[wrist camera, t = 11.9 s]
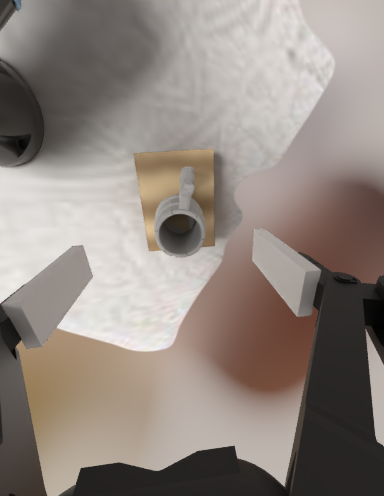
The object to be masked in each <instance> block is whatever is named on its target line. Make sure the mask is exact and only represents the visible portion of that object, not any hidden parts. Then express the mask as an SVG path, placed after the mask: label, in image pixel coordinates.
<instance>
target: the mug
mask: <svg viewBox="0 0 384 496" xmlns="http://www.w3.org/2000/svg"><path fill="white" fill-rule="evenodd" d="M194 189H195V186H194V169H193V167H184V168H182V170H181V173H180V191H179V194H175V195H171V196H169V197H167V198H165V199H164V200H163V201H161V202H160V204H159V206H158V208H157V210H156V215H155V222H154V232H155V238H156V242H157V244H158V246H159V248H160V249H161V250H162V251H163V252H165V253H166V254H168V255H169V256H172V255H173V256H175V257H187V256H191V255H193V254H194V253H196V252H197V251H198V250H199V249H200V248H201V247H202V245H203V242H204V239H205V219H204V217H203V215H202V214H203V212H202V210H201V208H200V206H199V204H198V203H197V202H196V201H195V200H194V199H193V198H191V196H192V195H193V193H194ZM175 214H185V215H188V217H189V224H190V229H189V230H188V231H185V232H184V231H182V230H181V229H179V228H177V227H175V226H174V225H172V224H170V223H168V222H166V221H165V220H166V219H167V218H168V217H170V216H172V215H175ZM194 219H195V220H196V221H195V224H194V225H193V222H194ZM163 222H164V223H165V224H166V225H167V226H168V227H169V228H170V229H171V230H172V231H173V232H172V231H170V230H169V229H168V228H167V227H166V226H165V225H164V224H163ZM192 226H193V227H192Z"/></svg>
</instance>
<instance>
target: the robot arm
mask: <svg viewBox="0 0 384 496" xmlns="http://www.w3.org/2000/svg"><path fill="white" fill-rule="evenodd" d="M20 9H21V0H0V31H1V29H2V28H3V27H4V25H5V24H6V23H7V21H8V20H9V19H10V17H11V16H12V15H13V13H14V12H15V11H16V10H17V11H18V12H19V10H20ZM43 133H44V127H43V119H42V114H41V111H40V108H39V105H38V103H37V101H36V99H35V97H34V95H33V93H32V91H31V90H30V88H29V87H28V86H27V84H26V83H25V82H24V81H23V79H22V78H21V77H20V76H19V75H18V74H17V73H16V72H15V71H14V70H13V69H11V68H10V67H9V66H8V65H6V64H5V63H3V62H2V61H0V166H17V165H21V164H23V163H26V162H27V161H29V160H30V159H32V158H33V157H34V156H35V155H36V153H37V152H38V150H39V148H40V146H41V144H42V140H43ZM252 261H253V262H254V263H255V264H256V266H257V267H258V268H259V269H260V271H261V272H262V273H263V274H264V276H265V277H266V278H267V279H268V281H269V282H270V283H271V284H272V286H273V287H274V288H275V289H276V291H277V292H278V293H279V294H280V296H281V297H282V298H283V299H284V301H285V302H286V303H287V305H288V306H289V307H290V308H291V310H292V311H293V312H294V313H295V314H296V316H297V317H299V316H308V315H311V314H312V310H313V306H314V307H315V308H316V309H317V310H318V311H319V312H318V316H317V320H316V325H315V332H314V337H313V342H312V348H311V353H310V359H309V364H308V369H307V375H306V380H305V385H304V391H303V396H302V402H301V406H300V412H299V417H298V422H297V427H296V433H295V438H294V443H293V449H292V454H291V458H290V463H289V468H288V472H287V477H286V482H285V487H284V486H283V485H282V484H281V483H279V482H278V481H277V480H276V479H275V478H274V477H273V476H272V475H270V474H269V473H267V472H266V471H265V470H263V469H262V468H260V467H258V466H256V465H255V464H252V463H250V462H247V461H245V460H241V459H237V456H236V451H235V446H229V447H222V448H215V449H209V450H202V451H197V452H195V453H193V454H191V455H190V456H187V457H186V458H184V459H182V460H180V461H178V462H176V463H174V464H172V465H170V466H168V467H167V468H165V469H163V470H160V471H153V470H149V469H144V468H140V467H136V466H131V465H127V464H123V463H113V464H106V465H99V466H93V467H85V468H81V470H80V473H79V476H78V479H77V482H76V485H74V486H72V487H71V488H69V489H68V490H66V491H64V492H63V493H62V494H60V495H59V496H384V446H383V445H381V444H380V443H378V442H377V440H376V437H375V430H374V418H373V407H372V397H371V386H370V375H369V364H368V353H367V342H366V331H365V328H366V330H367V332H368V334H369V336H370V338H371V340H372V342H373V344H374V346H375V348H376V350H377V352H378V354H379V356H380V358H381V360H382V362H383V364H384V276H380V277H379V278H378V280H377V283H376V284H367V283H361V282H360V280H358V279H357V278H356V277H354V276H352V275H349V274H345V273H340V272H331V271H330V270H328V269H327V268H325V267H324V266H323V265H321V264H319V263H318V262H317V261H315V260H313V259H312V258H311V257H309V256H308V255H305V254H303V253H300V252H298V253H297V252H296V251H294V250H293V249H292V248H290V247H289V246H288V245H286V244H285V243H283V242H282V241H281V240H279V239H278V238H276V237H275V236H274V235H272V234H271V233H270V232H268V231H267V230H265V229H264V228H258V229H254V235H253V253H252ZM92 277H93V275H92V272H91V269H90V266H89V263H88V260H87V257H86V253H85V250H84V247H83V245H81V246H72V247H71V248H70V249H69V250H67V251H66V252H65V253H64V254H62V255H61V256H60V257H59V258H57V259H56V260H55V261H54V262H53V263H51V264H50V265H49V266H48V267H46V268H45V269H44V270H43V271H41V272H40V273H39V274H38V275H37V276H35V277H34V278H33V279H32V280H30V281H29V282H28V283H27V284H25V285H23V286H22V287H20V288H19V289H18V290H17V291H16V292H14V293H13V294H12V295H10V297H8V298H7V299H6V300H4V301H3V302H2V303H1V304H0V496H47V494H46V491H45V487H44V482H43V477H42V471H41V466H40V461H39V456H38V451H37V445H36V440H35V435H34V429H33V424H32V419H31V414H30V408H29V403H28V398H27V393H26V388H25V382H24V377H23V372H22V366H21V361H20V356H19V352H18V350H17V348H16V345H17V344H18V343H19V342H20V341H21V340H22V342H23V344H24V345H25V347H26V348H27V349H28V348H37V347H42V346H43V345H44V344H45V342H46V341H47V340H48V338H49V337H50V335H51V334H52V333H53V331H54V330H55V329H56V327H57V326H58V324H59V323H60V322H61V320H62V319H63V317H64V316H65V315H66V313H67V312H68V311H69V309H70V308H71V306H72V305H73V304H74V302H75V301H76V299H77V298H78V297H79V295H80V294H81V292H82V291H83V290H84V288H85V287H86V286H87V284H88V283H89V281H90V280H91V279H92Z"/></svg>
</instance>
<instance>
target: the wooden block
mask: <svg viewBox="0 0 384 496" xmlns="http://www.w3.org/2000/svg"><path fill="white" fill-rule="evenodd" d="M134 159H135V165H136V172H137V178H138V184H139V191H140V197H141V203H142V210H143V216H144V223H145V229H146V235H147V242H148V248H149V251H159V250H161V249H160V248H159V246H158V244H157V242H156V238H155V232H154V222H155V215H156V210H157V208H158V206H159V204H160V202H161V201H163V200H164V199H165V198H167V197H169V196H171V195H175V194H179V191H180V173H181V170H182V168H184V167H193V169H194V186H195V189H194V193H193V195H192V196H191V198H193V199H194V200H195V201H196V202H197V203H198V204H199V206H200V208H201V210H202V212H203V214H202V215H203V217H204V219H205V239H204V242H203V245H202V247H208V246H215V224H214V149H199V150H182V151H165V152H148V153H134ZM165 221H166V222H168V223H170V224H172V225H174V226H175V227H177V228H179V229H181V230H182V231H184V232H185V231H188V230H189V229H190V224H189V217H188V215H185V214H175V215H172V216H170V217H168V218H167V219H166V220H165ZM195 221H196V220H195V219H194V222H193V225H194V224H195ZM163 224H164V225H165V226H166V227H167V228H168V229H169V230H170V231H172V230H171V229H170V228H169V227H168V226H167V225H166V224H165V223H164V222H163ZM192 227H193V226H192ZM172 232H173V231H172Z"/></svg>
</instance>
